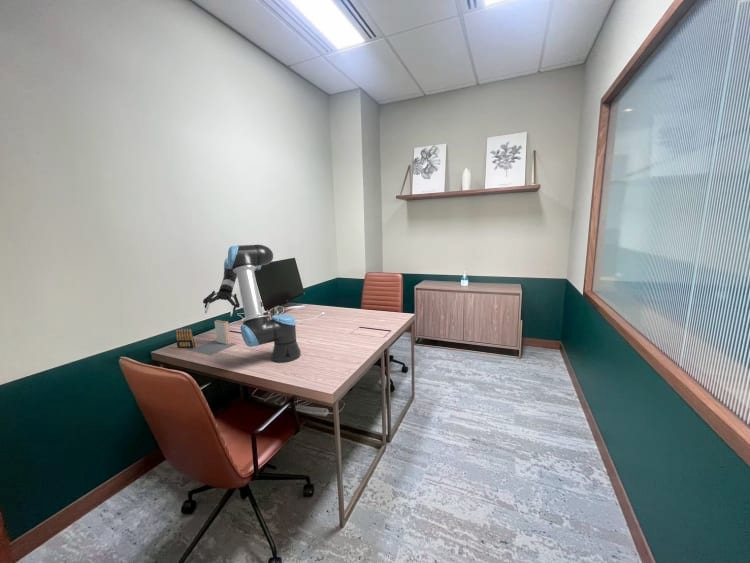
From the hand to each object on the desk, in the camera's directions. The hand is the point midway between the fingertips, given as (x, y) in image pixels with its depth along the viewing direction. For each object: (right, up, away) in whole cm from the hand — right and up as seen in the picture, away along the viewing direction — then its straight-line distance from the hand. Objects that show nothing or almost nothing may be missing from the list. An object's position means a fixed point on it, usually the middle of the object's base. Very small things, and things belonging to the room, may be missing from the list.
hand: (218, 313), depth 174 cm
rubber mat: (-5, -21, +3) cm, 21 cm away
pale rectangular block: (-2, -19, +9) cm, 21 cm away
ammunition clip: (-21, -21, +3) cm, 30 cm away
